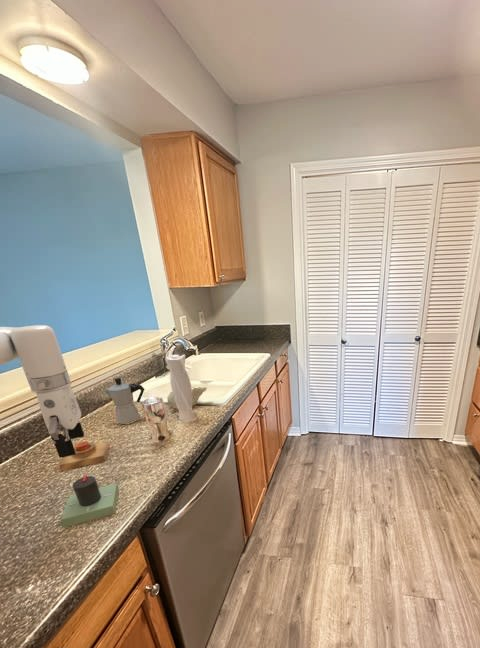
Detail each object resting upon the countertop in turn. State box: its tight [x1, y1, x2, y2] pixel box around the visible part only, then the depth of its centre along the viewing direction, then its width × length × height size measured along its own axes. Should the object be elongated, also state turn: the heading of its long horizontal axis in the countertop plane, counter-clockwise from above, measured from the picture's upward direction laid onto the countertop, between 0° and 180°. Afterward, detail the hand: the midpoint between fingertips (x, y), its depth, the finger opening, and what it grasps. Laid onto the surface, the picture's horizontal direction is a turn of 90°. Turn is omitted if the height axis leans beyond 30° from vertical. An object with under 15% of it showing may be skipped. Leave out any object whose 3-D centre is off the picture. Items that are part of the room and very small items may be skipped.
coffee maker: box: [102, 377, 146, 424], centre depth 128 cm, size 15×9×18 cm, turn 104°
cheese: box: [167, 386, 208, 410], centre depth 141 cm, size 15×7×15 cm
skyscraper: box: [165, 349, 197, 424], centre depth 124 cm, size 8×8×28 cm
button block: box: [58, 441, 110, 472], centre depth 105 cm, size 12×10×4 cm
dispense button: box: [74, 440, 90, 451], centre depth 104 cm, size 4×4×2 cm
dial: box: [72, 475, 101, 506], centre depth 81 cm, size 5×5×6 cm
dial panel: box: [60, 483, 120, 529], centre depth 82 cm, size 11×10×3 cm
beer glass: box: [141, 396, 172, 444], centre depth 112 cm, size 7×7×15 cm
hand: (72, 446), depth 80 cm, fingers open, 9 cm apart
